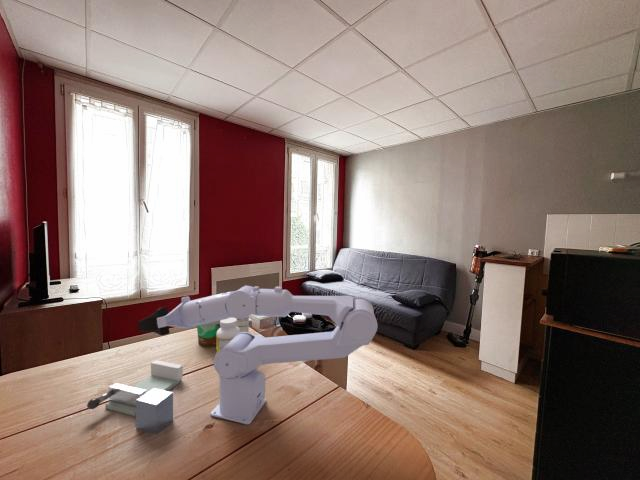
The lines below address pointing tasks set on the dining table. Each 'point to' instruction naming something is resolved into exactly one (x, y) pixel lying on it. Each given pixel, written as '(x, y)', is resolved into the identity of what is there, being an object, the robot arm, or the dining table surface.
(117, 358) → the dining table surface
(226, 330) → the supplement bottle
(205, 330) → the food container
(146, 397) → the block
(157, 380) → the base
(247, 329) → the supplement box
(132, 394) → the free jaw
